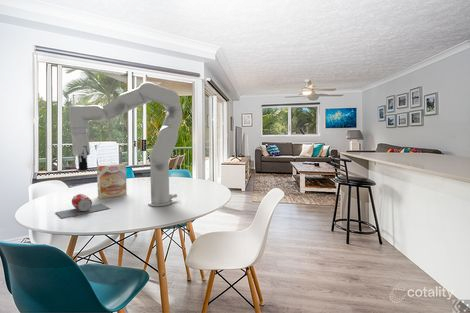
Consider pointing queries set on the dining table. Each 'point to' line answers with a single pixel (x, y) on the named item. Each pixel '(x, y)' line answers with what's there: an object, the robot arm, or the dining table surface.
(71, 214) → the mat
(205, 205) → the dining table surface
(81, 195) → the soda can
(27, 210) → the dining table surface
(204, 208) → the dining table surface
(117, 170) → the coffeecake box
